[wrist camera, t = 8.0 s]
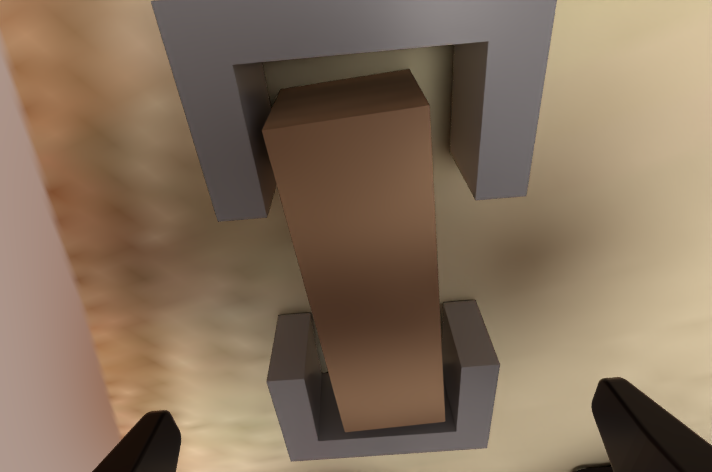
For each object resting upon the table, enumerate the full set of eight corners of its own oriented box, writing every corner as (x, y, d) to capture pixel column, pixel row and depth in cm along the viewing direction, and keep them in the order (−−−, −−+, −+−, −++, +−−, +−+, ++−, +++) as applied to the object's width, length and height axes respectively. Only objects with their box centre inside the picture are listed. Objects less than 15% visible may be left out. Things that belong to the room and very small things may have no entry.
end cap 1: (197, -11, 10) (150, 1, 8) (508, -41, 10) (562, -39, 8) (242, 169, 13) (218, 221, 10) (490, 148, 13) (526, 195, 10)
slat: (428, 344, 18) (445, 421, 15) (344, 354, 18) (344, 432, 15) (407, 66, 12) (429, 104, 9) (281, 86, 12) (261, 130, 9)
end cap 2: (467, 381, 19) (487, 448, 16) (297, 393, 19) (291, 461, 16) (475, 300, 16) (499, 364, 13) (278, 315, 16) (266, 381, 14)
